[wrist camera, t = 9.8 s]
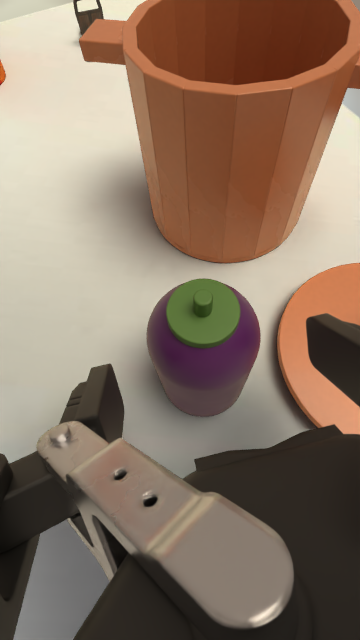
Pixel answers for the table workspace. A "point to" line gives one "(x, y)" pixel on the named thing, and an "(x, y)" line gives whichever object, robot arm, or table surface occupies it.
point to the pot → (232, 111)
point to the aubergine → (203, 345)
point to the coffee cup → (2, 73)
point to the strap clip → (87, 16)
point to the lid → (299, 374)
